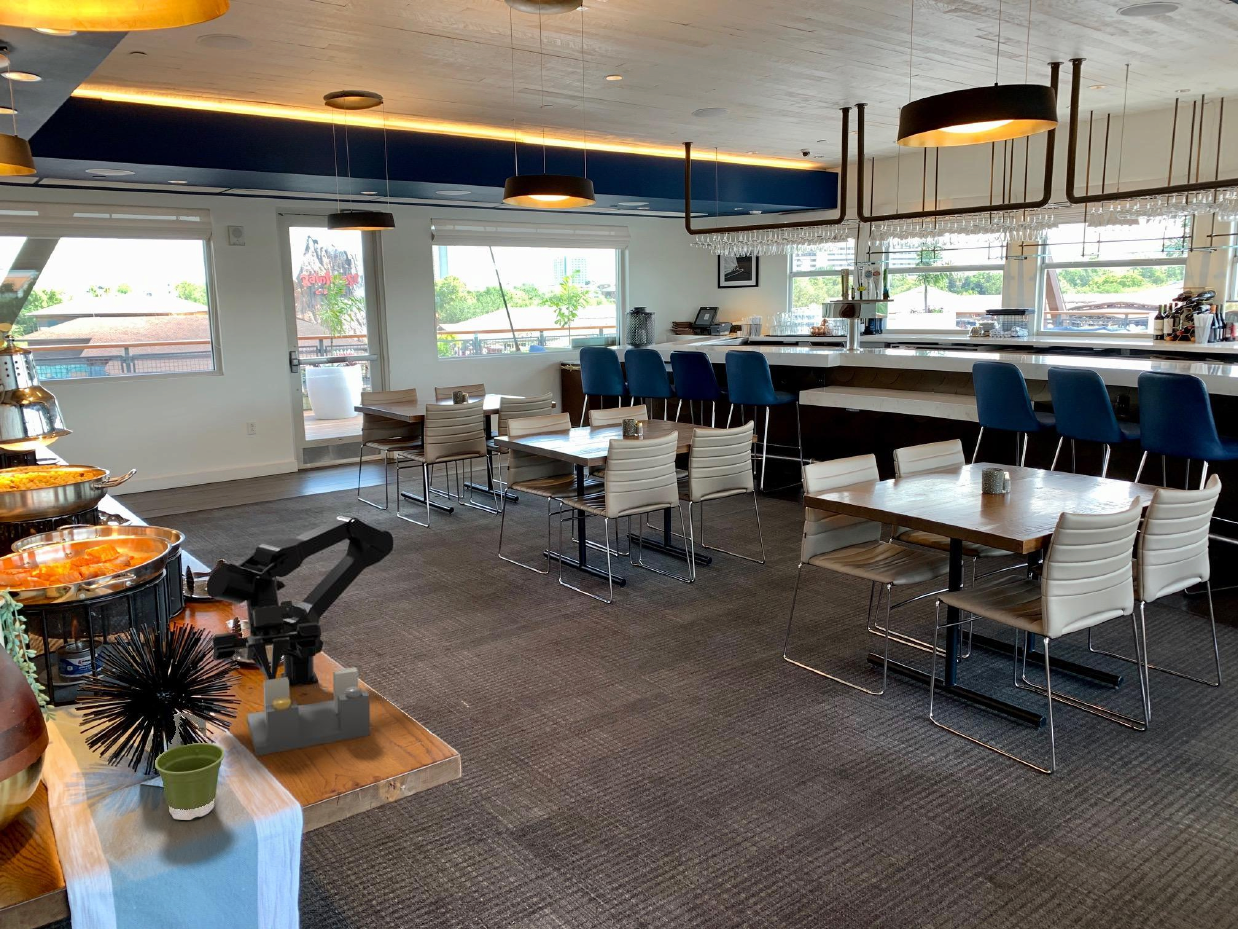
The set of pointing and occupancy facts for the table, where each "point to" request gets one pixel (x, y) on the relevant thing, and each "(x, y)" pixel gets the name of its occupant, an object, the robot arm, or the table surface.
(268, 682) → the tall white block
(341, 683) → the cream upright block
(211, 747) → the plant pot
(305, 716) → the grey holder stand
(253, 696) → the table surface
